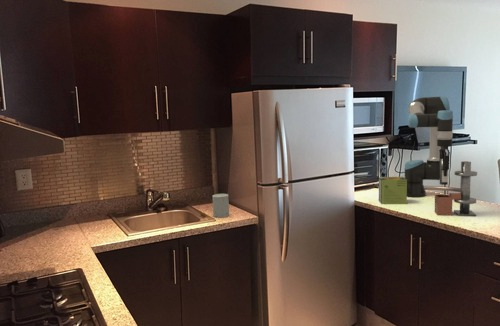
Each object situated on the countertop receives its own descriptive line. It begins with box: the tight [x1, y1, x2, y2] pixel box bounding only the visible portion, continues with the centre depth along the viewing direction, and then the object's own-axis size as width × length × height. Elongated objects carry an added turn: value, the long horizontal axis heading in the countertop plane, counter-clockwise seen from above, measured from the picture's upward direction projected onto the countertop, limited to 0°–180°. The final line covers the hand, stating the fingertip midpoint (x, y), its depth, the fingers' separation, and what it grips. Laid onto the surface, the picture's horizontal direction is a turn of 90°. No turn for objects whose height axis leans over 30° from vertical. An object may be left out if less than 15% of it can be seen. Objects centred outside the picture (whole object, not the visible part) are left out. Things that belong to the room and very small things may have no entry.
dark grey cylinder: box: [439, 159, 449, 186], centre depth 234 cm, size 4×4×14 cm
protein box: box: [378, 176, 408, 205], centre depth 267 cm, size 10×15×16 cm
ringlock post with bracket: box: [434, 160, 478, 217], centre depth 234 cm, size 11×20×29 cm, turn 78°
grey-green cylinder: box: [211, 193, 230, 219], centre depth 251 cm, size 10×10×12 cm
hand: (443, 181), depth 235 cm, fingers closed on dark grey cylinder, 4 cm apart
